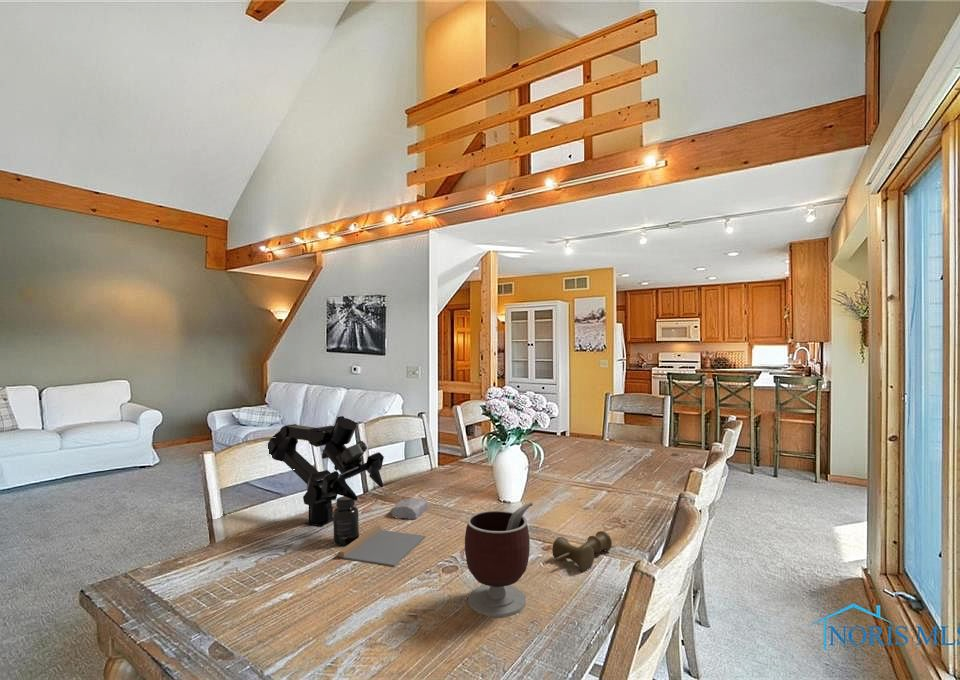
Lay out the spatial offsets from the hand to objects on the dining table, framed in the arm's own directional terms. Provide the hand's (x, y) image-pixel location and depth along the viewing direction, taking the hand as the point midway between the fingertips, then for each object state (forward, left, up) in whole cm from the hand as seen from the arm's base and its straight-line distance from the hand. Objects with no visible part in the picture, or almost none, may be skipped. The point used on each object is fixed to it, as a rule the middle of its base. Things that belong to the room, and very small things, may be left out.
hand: (370, 492), depth 134 cm
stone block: (+1, +24, -14) cm, 27 cm away
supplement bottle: (-6, -3, -13) cm, 15 cm away
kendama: (+58, +6, -14) cm, 60 cm away
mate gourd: (+43, -19, -13) cm, 49 cm away
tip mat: (+6, -3, -13) cm, 15 cm away
